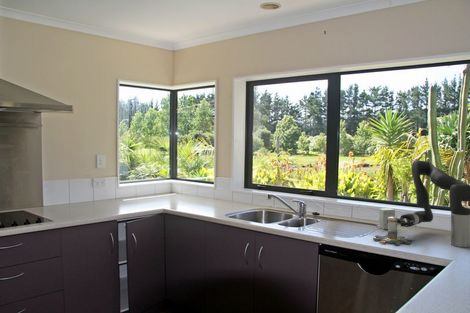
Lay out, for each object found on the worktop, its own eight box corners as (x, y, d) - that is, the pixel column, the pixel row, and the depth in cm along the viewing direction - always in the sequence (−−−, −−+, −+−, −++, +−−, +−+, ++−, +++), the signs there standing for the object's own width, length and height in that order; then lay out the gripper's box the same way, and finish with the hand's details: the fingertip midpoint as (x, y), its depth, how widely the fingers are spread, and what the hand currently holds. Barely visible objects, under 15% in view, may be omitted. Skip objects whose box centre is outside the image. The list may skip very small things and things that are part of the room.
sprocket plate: (420, 241, 218) (420, 239, 218) (399, 247, 206) (399, 245, 206) (386, 234, 235) (386, 232, 235) (365, 240, 223) (365, 237, 223)
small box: (390, 227, 256) (390, 207, 255) (395, 229, 249) (395, 209, 249) (378, 227, 255) (378, 208, 255) (383, 230, 249) (383, 209, 248)
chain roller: (399, 238, 220) (399, 217, 220) (394, 239, 217) (394, 218, 217) (390, 236, 224) (391, 216, 224) (385, 238, 221) (385, 217, 221)
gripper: (398, 212, 237) (383, 215, 227) (421, 215, 225) (406, 218, 215) (398, 224, 237) (383, 227, 227) (421, 228, 225) (406, 232, 216)
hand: (394, 223), depth 221 cm, fingers open, 8 cm apart
